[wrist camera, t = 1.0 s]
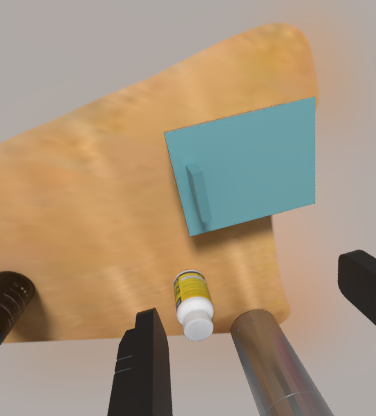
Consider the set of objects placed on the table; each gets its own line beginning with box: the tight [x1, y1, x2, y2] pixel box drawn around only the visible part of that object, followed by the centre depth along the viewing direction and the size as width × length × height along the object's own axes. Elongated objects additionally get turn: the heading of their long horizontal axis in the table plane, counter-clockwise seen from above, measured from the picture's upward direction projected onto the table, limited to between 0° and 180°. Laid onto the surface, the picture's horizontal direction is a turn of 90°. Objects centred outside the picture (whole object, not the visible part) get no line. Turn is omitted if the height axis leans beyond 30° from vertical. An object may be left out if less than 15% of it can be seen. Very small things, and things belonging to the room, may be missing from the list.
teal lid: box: [164, 97, 315, 236], centre depth 24 cm, size 16×12×6 cm
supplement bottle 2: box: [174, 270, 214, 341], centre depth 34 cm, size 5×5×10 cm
